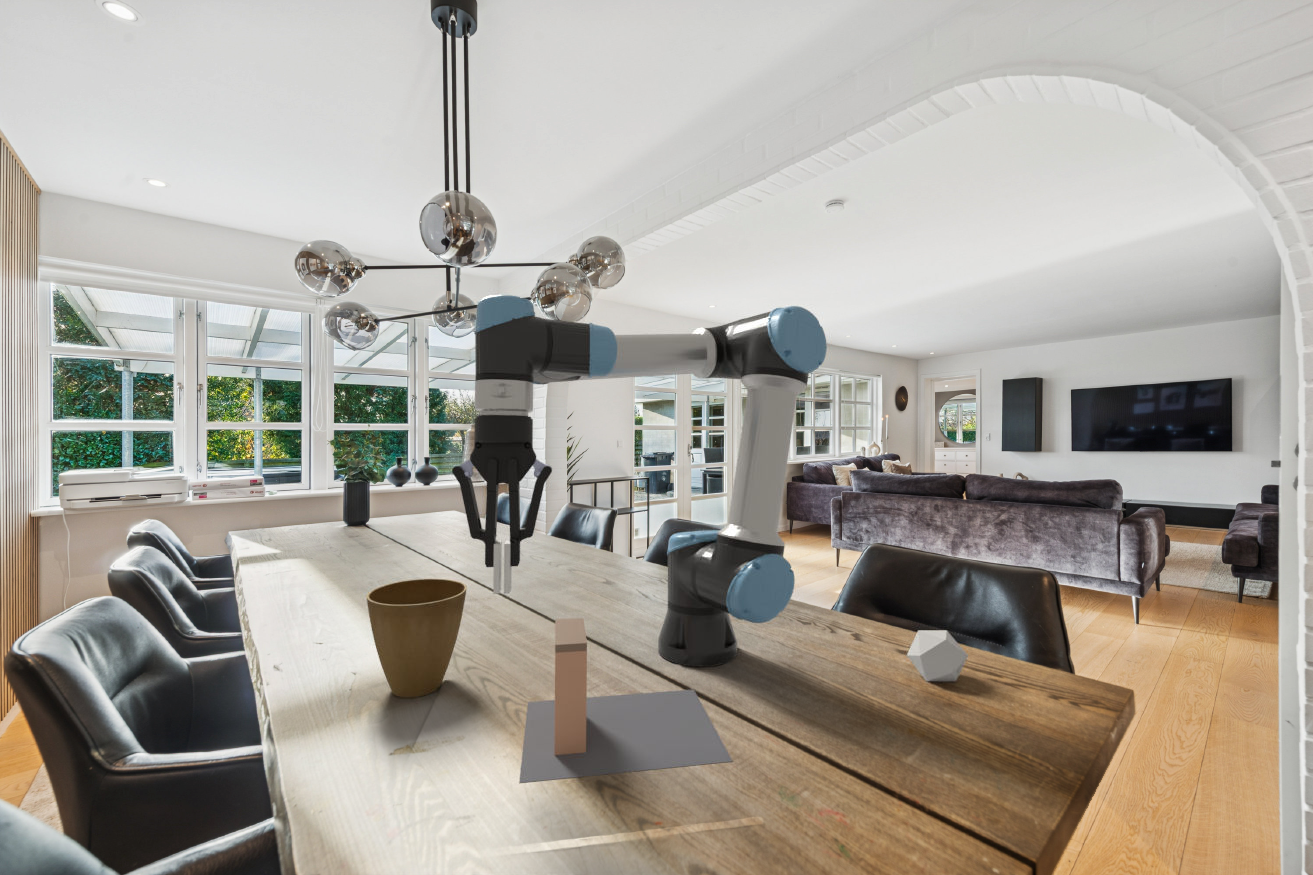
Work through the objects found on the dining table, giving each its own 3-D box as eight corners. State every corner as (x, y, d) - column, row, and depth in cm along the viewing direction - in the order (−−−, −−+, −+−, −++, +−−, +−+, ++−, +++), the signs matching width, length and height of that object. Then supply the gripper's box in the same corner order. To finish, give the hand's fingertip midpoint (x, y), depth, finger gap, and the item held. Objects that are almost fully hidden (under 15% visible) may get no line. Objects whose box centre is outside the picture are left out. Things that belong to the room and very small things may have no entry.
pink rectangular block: (554, 715, 80) (555, 619, 80) (582, 713, 80) (583, 617, 80) (554, 755, 70) (555, 644, 70) (586, 752, 71) (586, 642, 71)
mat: (528, 705, 84) (528, 701, 84) (693, 693, 89) (693, 689, 89) (519, 787, 64) (519, 782, 64) (732, 765, 69) (732, 761, 69)
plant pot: (343, 700, 85) (344, 597, 85) (415, 663, 99) (416, 574, 99) (419, 718, 80) (420, 608, 80) (484, 676, 94) (485, 583, 94)
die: (963, 697, 89) (983, 643, 92) (913, 667, 91) (935, 615, 94) (938, 693, 97) (957, 644, 100) (892, 666, 98) (913, 618, 101)
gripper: (444, 412, 69) (443, 601, 69) (555, 414, 71) (554, 596, 71) (455, 414, 76) (454, 585, 76) (556, 416, 79) (554, 581, 79)
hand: (502, 590), depth 74 cm, fingers closed
